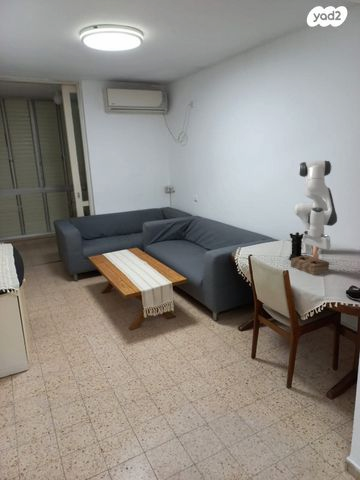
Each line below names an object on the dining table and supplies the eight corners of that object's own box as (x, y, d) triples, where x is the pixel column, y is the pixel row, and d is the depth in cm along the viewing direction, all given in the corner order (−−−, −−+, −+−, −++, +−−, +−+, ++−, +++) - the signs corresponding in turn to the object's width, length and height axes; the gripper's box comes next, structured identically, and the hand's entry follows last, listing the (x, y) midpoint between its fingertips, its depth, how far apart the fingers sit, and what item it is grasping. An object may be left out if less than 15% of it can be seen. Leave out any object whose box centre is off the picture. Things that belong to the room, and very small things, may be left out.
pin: (311, 260, 221) (312, 245, 218) (315, 258, 222) (315, 244, 220) (315, 261, 218) (316, 246, 215) (319, 260, 219) (320, 245, 217)
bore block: (290, 266, 232) (291, 258, 231) (305, 262, 238) (305, 254, 237) (313, 275, 215) (313, 266, 213) (328, 270, 221) (329, 262, 219)
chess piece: (296, 257, 250) (297, 232, 244) (304, 260, 242) (305, 234, 237) (288, 259, 247) (288, 233, 242) (295, 262, 240) (296, 236, 234)
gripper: (333, 235, 207) (332, 255, 211) (308, 229, 225) (307, 248, 229) (326, 236, 205) (325, 257, 208) (301, 230, 223) (300, 250, 226)
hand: (315, 252), depth 219 cm, fingers closed on pin, 3 cm apart
